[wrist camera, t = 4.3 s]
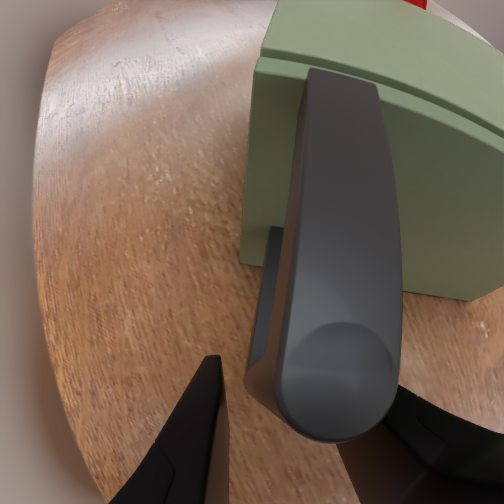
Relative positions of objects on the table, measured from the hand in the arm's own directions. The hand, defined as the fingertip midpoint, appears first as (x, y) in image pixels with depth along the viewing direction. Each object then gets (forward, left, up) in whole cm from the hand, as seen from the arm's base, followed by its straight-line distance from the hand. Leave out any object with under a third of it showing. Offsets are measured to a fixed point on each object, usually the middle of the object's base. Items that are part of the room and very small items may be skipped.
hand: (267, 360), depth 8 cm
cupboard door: (-1, -7, -7) cm, 10 cm away
